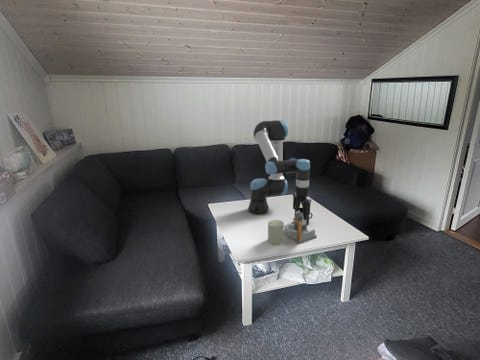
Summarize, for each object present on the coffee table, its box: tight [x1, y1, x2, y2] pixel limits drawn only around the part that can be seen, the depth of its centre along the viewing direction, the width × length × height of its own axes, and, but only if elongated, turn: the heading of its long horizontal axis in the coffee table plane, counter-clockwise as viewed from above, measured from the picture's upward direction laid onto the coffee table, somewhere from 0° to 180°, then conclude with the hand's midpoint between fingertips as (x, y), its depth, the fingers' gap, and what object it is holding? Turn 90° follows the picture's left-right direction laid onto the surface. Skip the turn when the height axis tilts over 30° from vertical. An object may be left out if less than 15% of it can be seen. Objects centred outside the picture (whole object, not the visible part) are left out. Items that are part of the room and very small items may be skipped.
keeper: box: [283, 218, 318, 244], centre depth 178 cm, size 16×14×14 cm
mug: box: [299, 207, 313, 226], centre depth 195 cm, size 9×12×9 cm
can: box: [267, 219, 285, 246], centre depth 172 cm, size 9×9×12 cm
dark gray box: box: [293, 213, 308, 232], centre depth 178 cm, size 5×6×10 cm
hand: (300, 222), depth 178 cm, fingers closed on dark gray box, 5 cm apart
